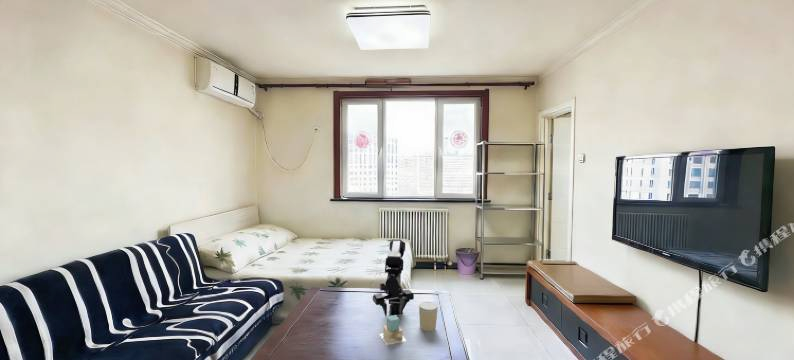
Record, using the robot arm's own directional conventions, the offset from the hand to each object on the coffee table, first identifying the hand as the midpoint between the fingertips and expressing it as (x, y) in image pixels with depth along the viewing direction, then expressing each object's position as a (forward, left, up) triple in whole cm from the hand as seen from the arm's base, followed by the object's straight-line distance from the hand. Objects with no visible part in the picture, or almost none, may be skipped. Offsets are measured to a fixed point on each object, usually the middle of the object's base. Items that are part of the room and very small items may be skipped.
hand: (393, 314), depth 149 cm
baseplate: (0, 0, -12) cm, 12 cm away
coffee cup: (-20, -3, -12) cm, 24 cm away
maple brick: (0, 0, -11) cm, 11 cm away
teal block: (0, 0, -6) cm, 6 cm away
